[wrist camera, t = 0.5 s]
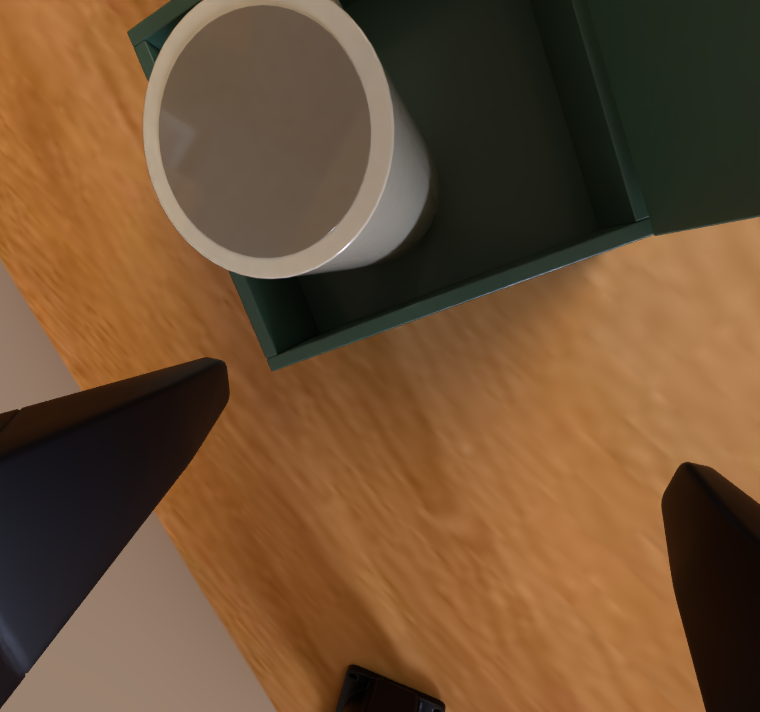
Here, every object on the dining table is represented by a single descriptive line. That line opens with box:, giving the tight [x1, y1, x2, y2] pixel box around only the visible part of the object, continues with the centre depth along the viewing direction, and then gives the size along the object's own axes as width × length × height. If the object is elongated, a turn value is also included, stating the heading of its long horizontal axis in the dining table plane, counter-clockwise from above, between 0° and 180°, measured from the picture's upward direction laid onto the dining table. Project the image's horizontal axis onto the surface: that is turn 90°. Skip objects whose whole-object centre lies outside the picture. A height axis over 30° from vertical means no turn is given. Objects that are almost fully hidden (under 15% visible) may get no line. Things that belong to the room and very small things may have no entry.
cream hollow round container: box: [143, 0, 440, 279], centre depth 16 cm, size 9×7×11 cm
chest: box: [127, 0, 654, 371], centre depth 18 cm, size 15×14×6 cm
